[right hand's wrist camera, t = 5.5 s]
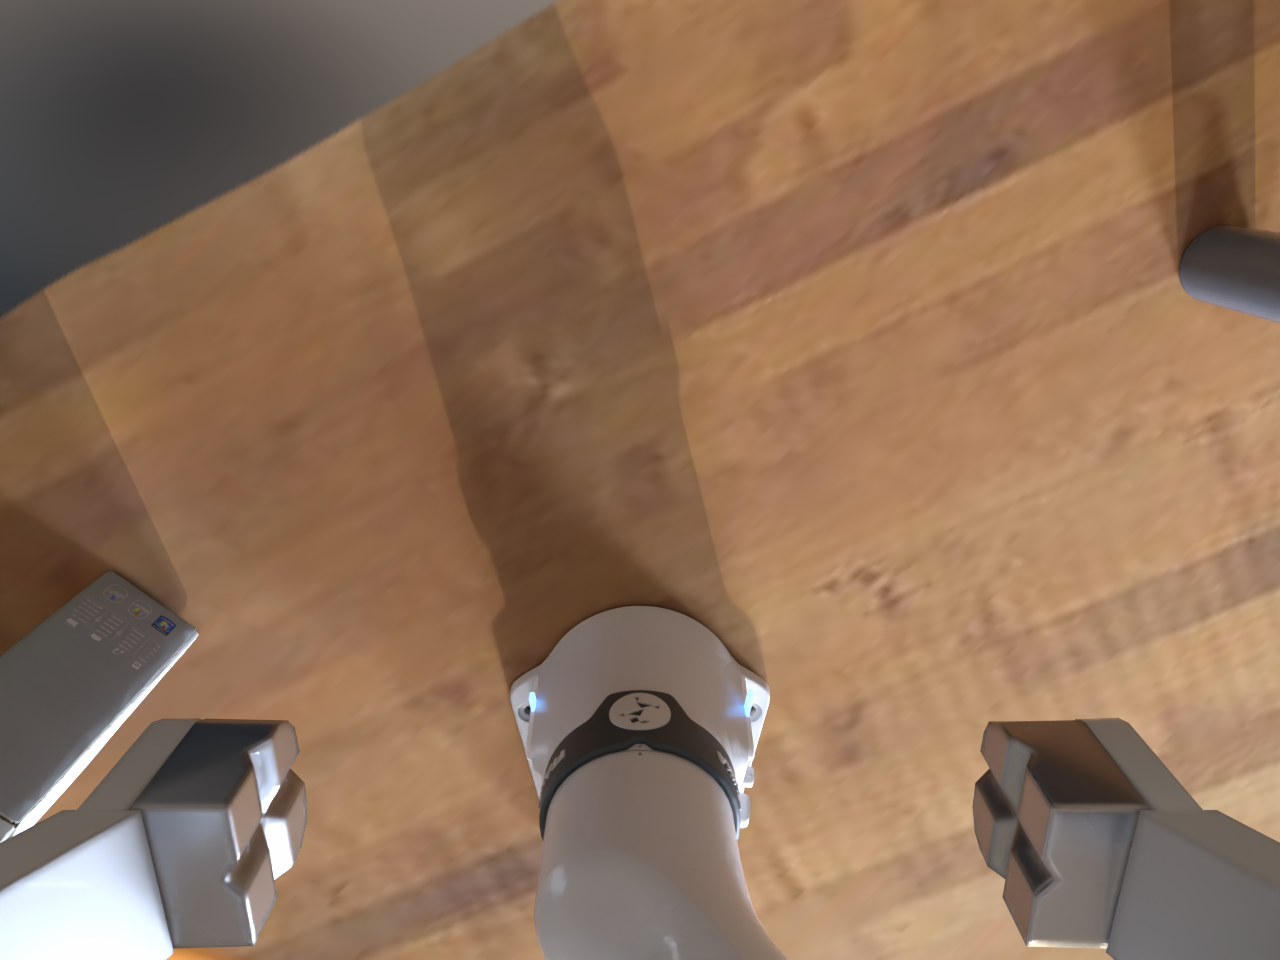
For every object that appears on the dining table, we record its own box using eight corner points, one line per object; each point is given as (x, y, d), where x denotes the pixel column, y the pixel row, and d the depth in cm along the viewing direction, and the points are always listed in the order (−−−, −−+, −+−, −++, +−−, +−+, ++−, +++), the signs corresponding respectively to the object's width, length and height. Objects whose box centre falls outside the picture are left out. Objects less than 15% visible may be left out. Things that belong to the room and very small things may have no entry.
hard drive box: (109, 563, 63) (-117, 743, 44) (204, 629, 64) (26, 827, 46) (0, 706, 67) (-250, 925, 48) (92, 763, 68) (-114, 997, 50)
